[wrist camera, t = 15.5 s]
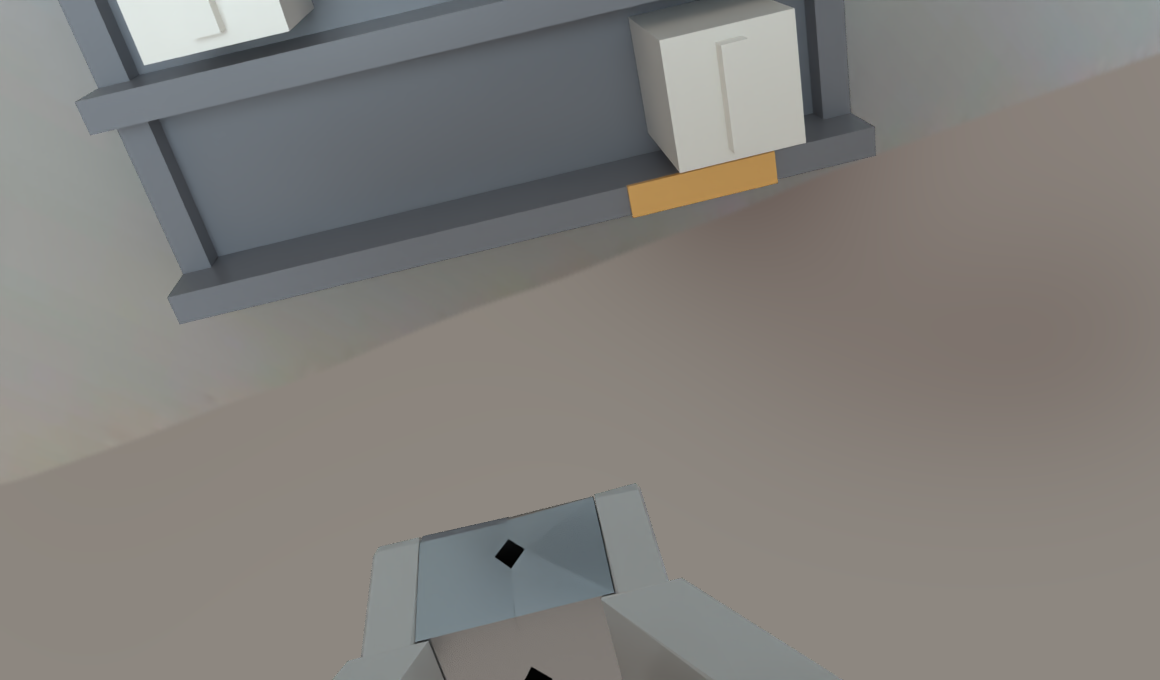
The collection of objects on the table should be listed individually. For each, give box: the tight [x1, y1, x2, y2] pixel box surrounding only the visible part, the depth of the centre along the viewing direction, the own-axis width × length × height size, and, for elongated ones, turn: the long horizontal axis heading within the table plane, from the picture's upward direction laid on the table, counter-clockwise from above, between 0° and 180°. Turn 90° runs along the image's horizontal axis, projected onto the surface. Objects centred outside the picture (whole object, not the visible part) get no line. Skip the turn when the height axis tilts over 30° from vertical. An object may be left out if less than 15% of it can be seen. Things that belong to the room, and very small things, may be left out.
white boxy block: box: [628, 0, 806, 173], centre depth 29 cm, size 4×4×6 cm
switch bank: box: [58, 0, 876, 324], centre depth 28 cm, size 24×14×4 cm, turn 102°
